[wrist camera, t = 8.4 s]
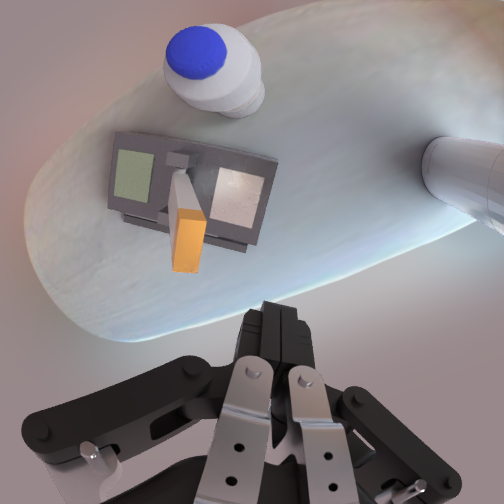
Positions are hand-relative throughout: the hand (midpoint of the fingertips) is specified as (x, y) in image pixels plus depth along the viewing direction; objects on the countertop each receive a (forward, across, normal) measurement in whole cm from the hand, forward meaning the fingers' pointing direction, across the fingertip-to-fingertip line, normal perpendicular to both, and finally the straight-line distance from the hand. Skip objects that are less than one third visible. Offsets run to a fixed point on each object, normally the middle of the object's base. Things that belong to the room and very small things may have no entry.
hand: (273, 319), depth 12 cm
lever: (+18, +11, 0) cm, 21 cm away
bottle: (+24, +7, -12) cm, 28 cm away
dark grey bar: (+24, +11, +7) cm, 27 cm away
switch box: (+24, +11, 0) cm, 26 cm away
